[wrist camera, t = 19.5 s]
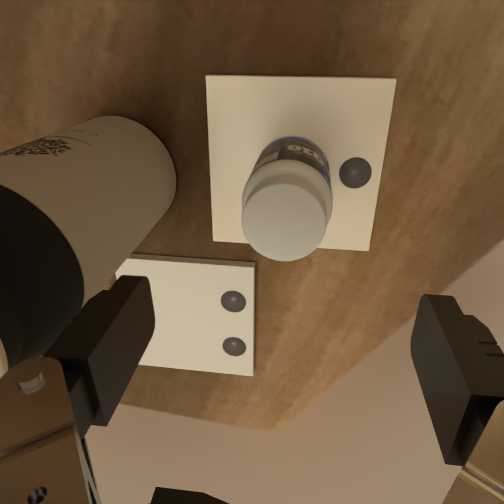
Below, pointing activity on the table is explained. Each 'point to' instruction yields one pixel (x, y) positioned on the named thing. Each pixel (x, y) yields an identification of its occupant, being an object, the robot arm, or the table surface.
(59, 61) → the table surface
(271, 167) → the pill bottle
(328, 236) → the one-dot pad
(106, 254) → the travel mug
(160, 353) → the two-dot pad
